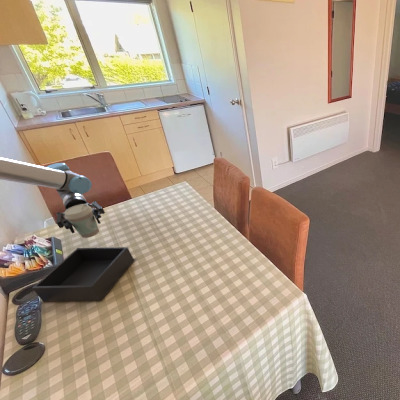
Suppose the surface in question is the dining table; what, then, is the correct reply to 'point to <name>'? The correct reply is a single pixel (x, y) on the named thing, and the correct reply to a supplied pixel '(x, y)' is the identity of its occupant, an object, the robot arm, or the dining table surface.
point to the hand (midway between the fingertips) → (85, 225)
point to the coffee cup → (82, 220)
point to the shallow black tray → (84, 275)
